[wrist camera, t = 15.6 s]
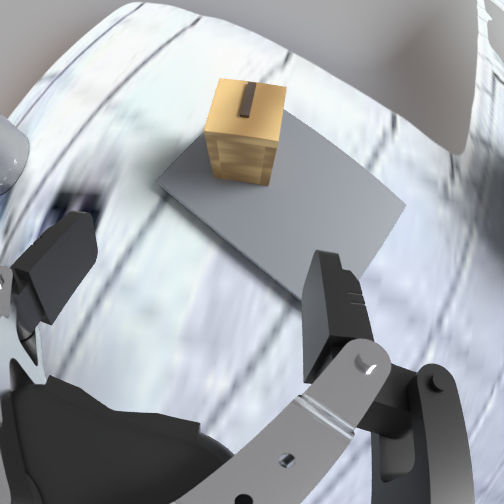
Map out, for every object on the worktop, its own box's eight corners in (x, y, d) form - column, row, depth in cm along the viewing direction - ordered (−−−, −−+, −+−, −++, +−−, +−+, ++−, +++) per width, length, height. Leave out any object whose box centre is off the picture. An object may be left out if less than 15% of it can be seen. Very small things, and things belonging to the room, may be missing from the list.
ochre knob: (213, 177, 26) (203, 128, 18) (224, 132, 27) (219, 75, 19) (268, 186, 26) (279, 138, 18) (275, 139, 27) (287, 84, 19)
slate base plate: (160, 186, 28) (156, 180, 26) (251, 97, 30) (251, 89, 28) (324, 320, 26) (328, 321, 24) (399, 209, 28) (406, 205, 27)
